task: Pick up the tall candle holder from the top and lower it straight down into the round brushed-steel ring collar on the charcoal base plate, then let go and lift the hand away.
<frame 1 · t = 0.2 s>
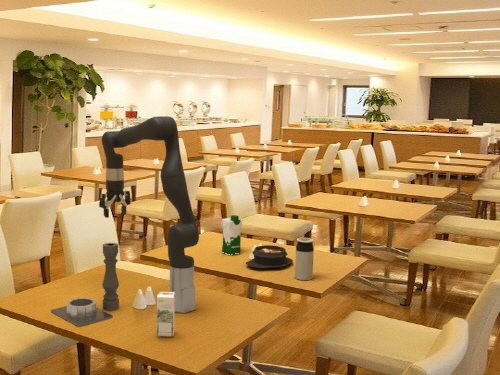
hand: (115, 216, 270), 29 cm above the table, tool pointing down, fingers open, 8 cm apart
steel collar: (81, 314, 235), on the table
candle holder: (110, 308, 243), on the table
syrup box: (165, 334, 220), on the table
casserole: (269, 266, 307), on the table
travel mug: (303, 278, 288), on the table
milk carton: (231, 253, 327), on the table
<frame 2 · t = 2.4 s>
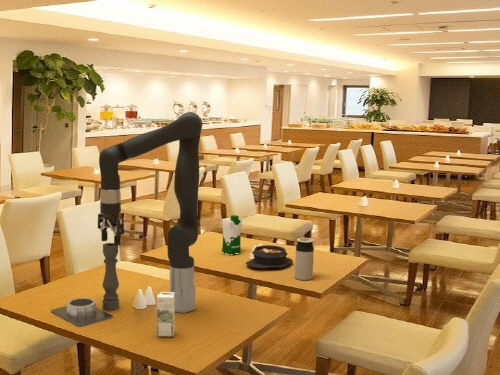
hand: (110, 243, 239), 26 cm above the table, tool pointing down, fingers open, 8 cm apart
nothing on the table moved.
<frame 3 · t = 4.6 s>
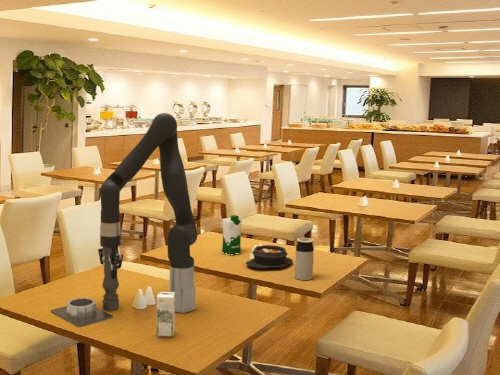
hand: (110, 277, 241), 12 cm above the table, tool pointing down, fingers closed on candle holder, 4 cm apart
candle holder: (110, 308, 243), on the table, touching gripper
everything else where it was.
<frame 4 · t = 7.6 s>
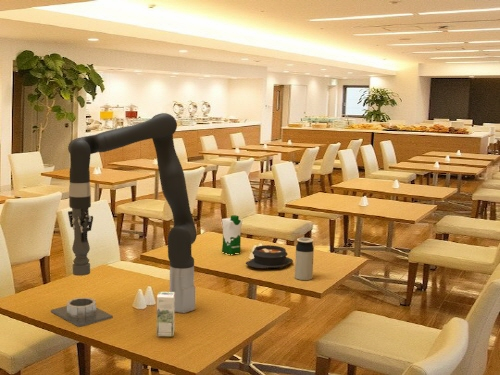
hand: (80, 240, 231), 28 cm above the table, tool pointing down, fingers closed on candle holder, 4 cm apart
candle holder: (81, 273, 233), point 16 cm above the table, touching gripper
everything else where it was.
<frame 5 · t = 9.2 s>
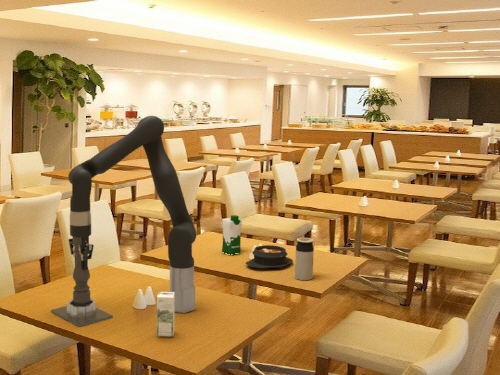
hand: (81, 268, 233), 18 cm above the table, tool pointing down, fingers closed on candle holder, 4 cm apart
candle holder: (81, 300, 235), point 5 cm above the table, touching gripper
everything else where it was.
when the fingers open (15 cm above the table, at t = 10.8 s): candle holder stays where it is, resting on steel collar.
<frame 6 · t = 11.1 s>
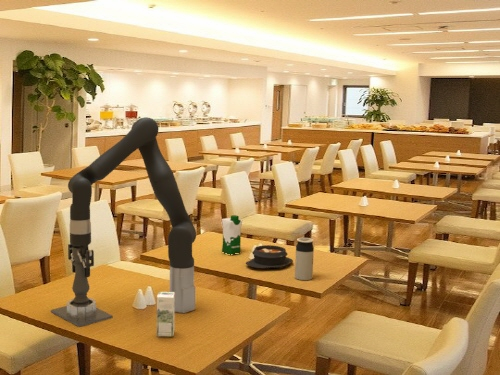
hand: (81, 274, 233), 15 cm above the table, tool pointing down, fingers open, 7 cm apart
candle holder: (81, 312, 236), point 1 cm above the table, touching steel collar
everything else where it was.
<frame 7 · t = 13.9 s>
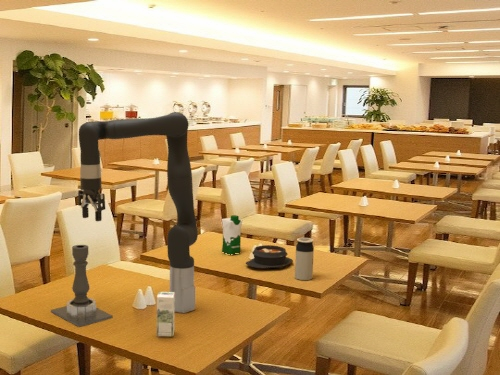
hand: (91, 219, 237), 35 cm above the table, tool pointing down, fingers open, 8 cm apart
nothing on the table moved.
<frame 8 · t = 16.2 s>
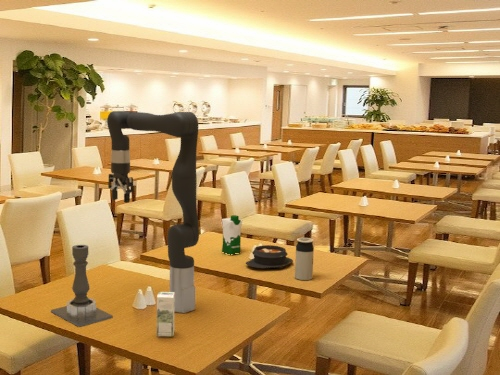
hand: (120, 201, 257), 38 cm above the table, tool pointing down, fingers open, 8 cm apart
nothing on the table moved.
at the end: candle holder 0.8 cm off-centre on the steel collar, point 0.6 cm above the steel collar's base; candle holder tilted 0°; the gripper is holding nothing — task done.
